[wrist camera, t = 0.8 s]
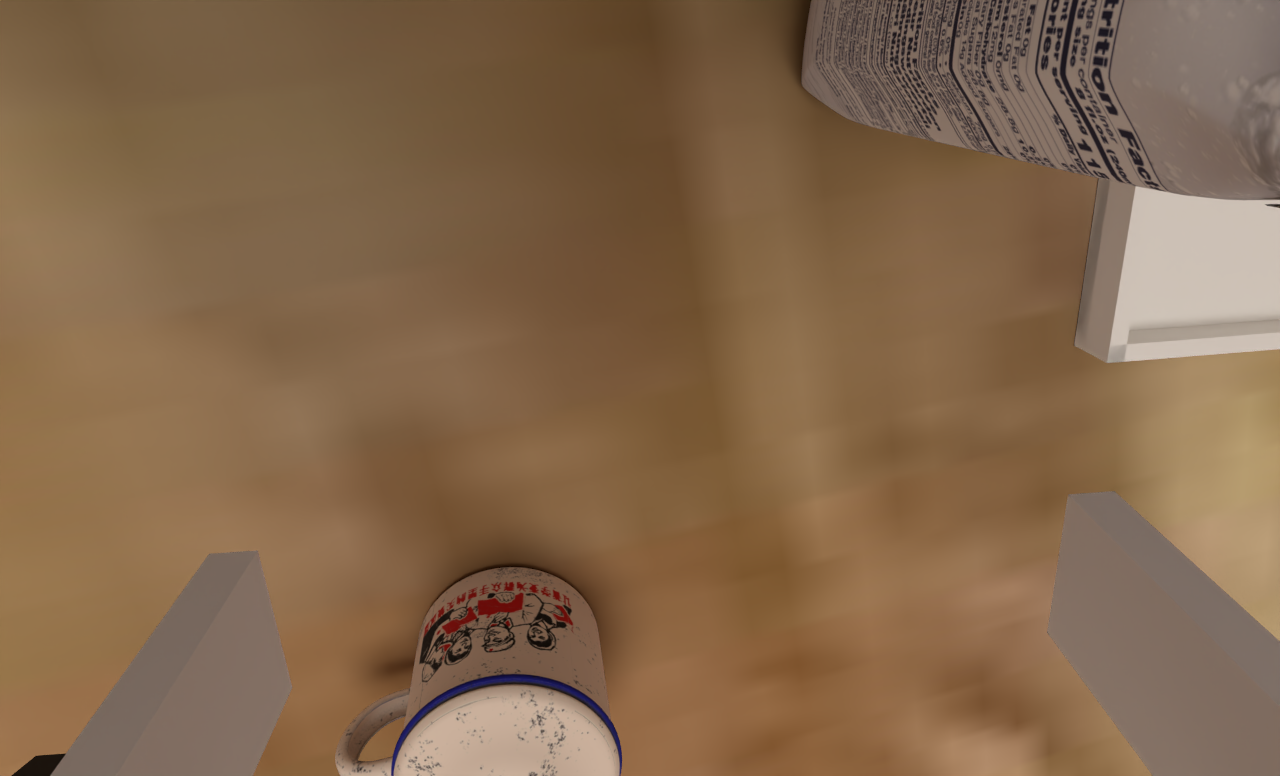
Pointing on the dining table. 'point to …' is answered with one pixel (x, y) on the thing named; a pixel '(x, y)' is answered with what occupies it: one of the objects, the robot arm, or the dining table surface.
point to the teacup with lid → (498, 687)
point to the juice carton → (1067, 84)
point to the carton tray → (1179, 276)
